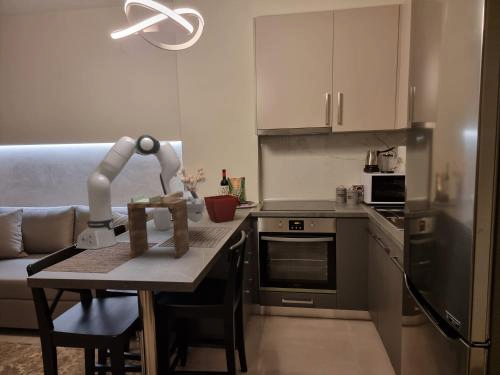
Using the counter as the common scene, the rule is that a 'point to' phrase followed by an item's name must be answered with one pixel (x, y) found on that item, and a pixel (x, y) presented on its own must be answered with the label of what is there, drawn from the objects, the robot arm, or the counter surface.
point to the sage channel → (141, 199)
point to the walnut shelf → (140, 227)
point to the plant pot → (221, 207)
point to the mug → (162, 219)
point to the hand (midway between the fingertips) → (180, 198)
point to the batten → (171, 197)
